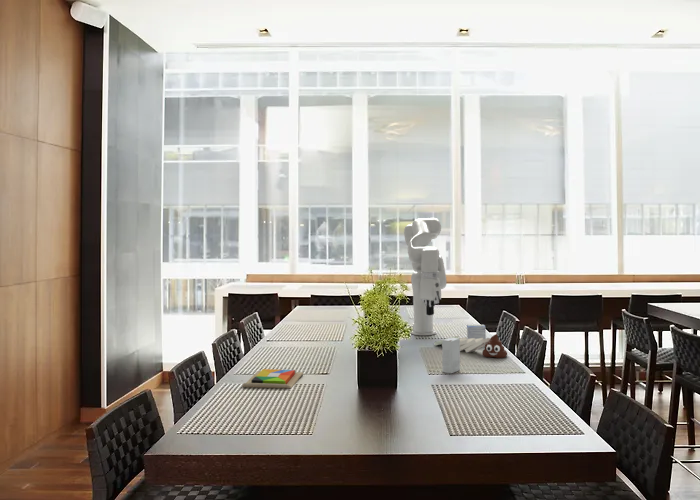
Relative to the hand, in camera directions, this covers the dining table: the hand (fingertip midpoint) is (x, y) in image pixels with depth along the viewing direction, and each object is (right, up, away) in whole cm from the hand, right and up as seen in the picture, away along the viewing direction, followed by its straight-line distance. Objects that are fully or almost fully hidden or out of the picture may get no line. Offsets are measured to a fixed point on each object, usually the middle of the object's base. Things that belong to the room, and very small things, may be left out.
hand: (430, 314), depth 272 cm
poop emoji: (+22, -14, -31) cm, 40 cm away
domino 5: (+14, -13, -21) cm, 28 cm away
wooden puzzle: (-64, -18, -62) cm, 91 cm away
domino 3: (+9, -13, -13) cm, 20 cm away
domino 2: (+6, -13, -9) cm, 17 cm away
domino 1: (+3, -13, -5) cm, 14 cm away
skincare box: (+1, -15, -54) cm, 56 cm away
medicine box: (+20, -13, -5) cm, 25 cm away
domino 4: (+12, -13, -17) cm, 25 cm away
